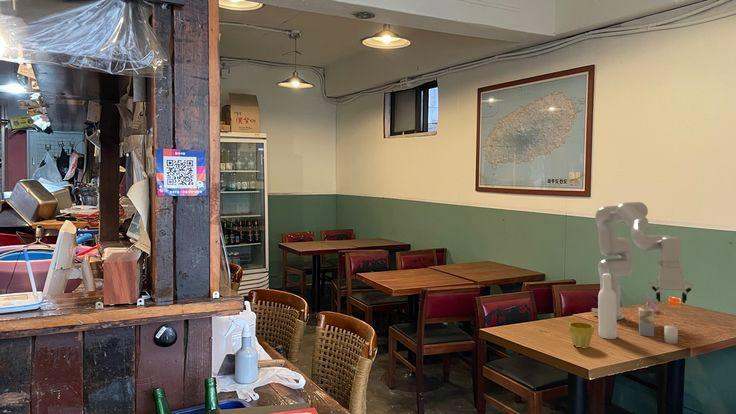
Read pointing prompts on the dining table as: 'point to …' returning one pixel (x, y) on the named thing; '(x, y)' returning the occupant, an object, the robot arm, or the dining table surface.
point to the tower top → (646, 315)
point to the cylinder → (671, 334)
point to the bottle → (607, 310)
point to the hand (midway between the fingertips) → (671, 301)
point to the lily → (650, 303)
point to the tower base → (646, 329)
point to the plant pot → (581, 333)
